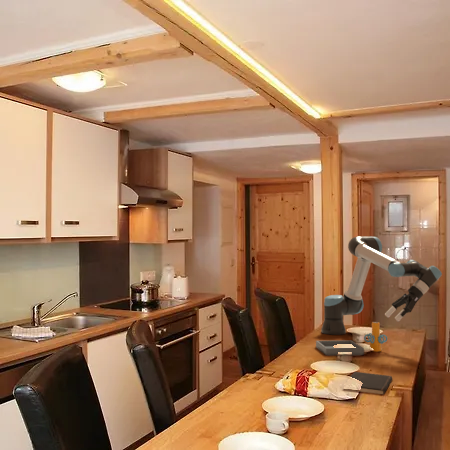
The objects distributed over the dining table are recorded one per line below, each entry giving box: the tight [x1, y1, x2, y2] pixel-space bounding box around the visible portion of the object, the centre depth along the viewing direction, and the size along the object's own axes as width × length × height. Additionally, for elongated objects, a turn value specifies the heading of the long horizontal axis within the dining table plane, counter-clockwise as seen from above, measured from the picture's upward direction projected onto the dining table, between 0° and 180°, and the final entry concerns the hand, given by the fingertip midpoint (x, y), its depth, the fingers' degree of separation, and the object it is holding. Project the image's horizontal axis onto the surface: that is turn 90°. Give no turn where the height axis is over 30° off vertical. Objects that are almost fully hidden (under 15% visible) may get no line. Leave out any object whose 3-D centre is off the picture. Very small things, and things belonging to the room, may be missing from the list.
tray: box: [315, 339, 365, 356], centre depth 280 cm, size 20×20×4 cm
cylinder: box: [363, 321, 388, 353], centre depth 281 cm, size 12×10×15 cm
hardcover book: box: [349, 371, 393, 396], centre depth 216 cm, size 16×23×2 cm
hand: (391, 318), depth 282 cm, fingers open, 13 cm apart
